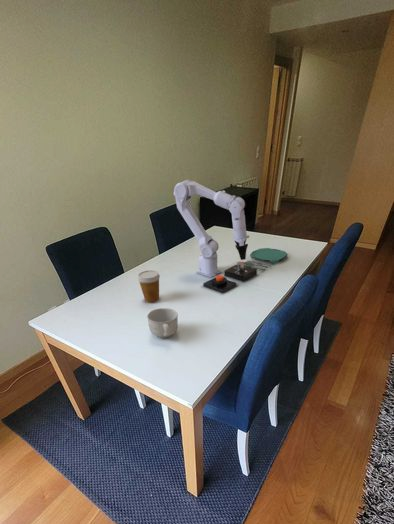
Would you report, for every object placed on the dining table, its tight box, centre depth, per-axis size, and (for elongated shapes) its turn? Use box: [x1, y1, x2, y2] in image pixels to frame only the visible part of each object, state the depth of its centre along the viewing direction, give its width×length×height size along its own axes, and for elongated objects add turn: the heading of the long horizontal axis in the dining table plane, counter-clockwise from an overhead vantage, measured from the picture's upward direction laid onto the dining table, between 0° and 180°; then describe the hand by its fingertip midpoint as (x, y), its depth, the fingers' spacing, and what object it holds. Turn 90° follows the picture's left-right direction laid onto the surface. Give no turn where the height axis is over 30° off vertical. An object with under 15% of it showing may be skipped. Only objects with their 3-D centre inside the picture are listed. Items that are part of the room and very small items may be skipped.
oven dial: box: [236, 261, 246, 271], centre depth 144 cm, size 4×4×4 cm
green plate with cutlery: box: [244, 247, 288, 272], centre depth 161 cm, size 20×30×2 cm, turn 141°
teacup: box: [146, 307, 179, 338], centre depth 105 cm, size 14×11×8 cm
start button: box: [215, 274, 225, 281], centre depth 136 cm, size 4×4×2 cm
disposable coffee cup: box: [136, 269, 161, 304], centre depth 127 cm, size 10×10×12 cm
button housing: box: [202, 276, 237, 294], centre depth 137 cm, size 12×10×4 cm
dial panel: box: [223, 264, 258, 283], centre depth 146 cm, size 12×11×3 cm
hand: (242, 256), depth 140 cm, fingers open, 7 cm apart
